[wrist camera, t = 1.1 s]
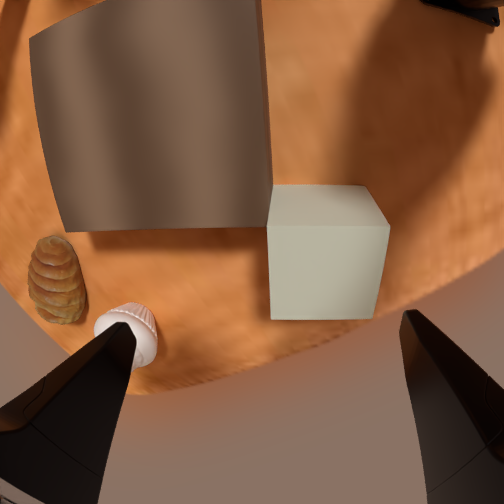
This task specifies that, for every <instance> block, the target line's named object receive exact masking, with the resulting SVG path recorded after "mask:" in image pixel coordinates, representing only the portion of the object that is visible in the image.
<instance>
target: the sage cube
mask: <svg viewBox="0 0 504 504" xmlns="http://www.w3.org/2000/svg"><path fill="white" fill-rule="evenodd" d="M389 234H390V225H389V223H388V222H387V220H386V218H385V217H384V215H383V213H382V212H381V210H380V209H379V207H378V205H377V204H376V202H375V201H374V199H373V197H372V196H371V194H370V193H369V191H368V190H367V188H366V187H365V186H358V185H273V190H272V196H271V203H270V209H269V215H268V222H267V239H268V261H269V284H270V309H271V319H276V320H344V319H372V317H373V313H374V309H375V305H376V301H377V296H378V292H379V287H380V282H381V278H382V273H383V268H384V262H385V257H386V251H387V246H388V240H389Z"/></svg>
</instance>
